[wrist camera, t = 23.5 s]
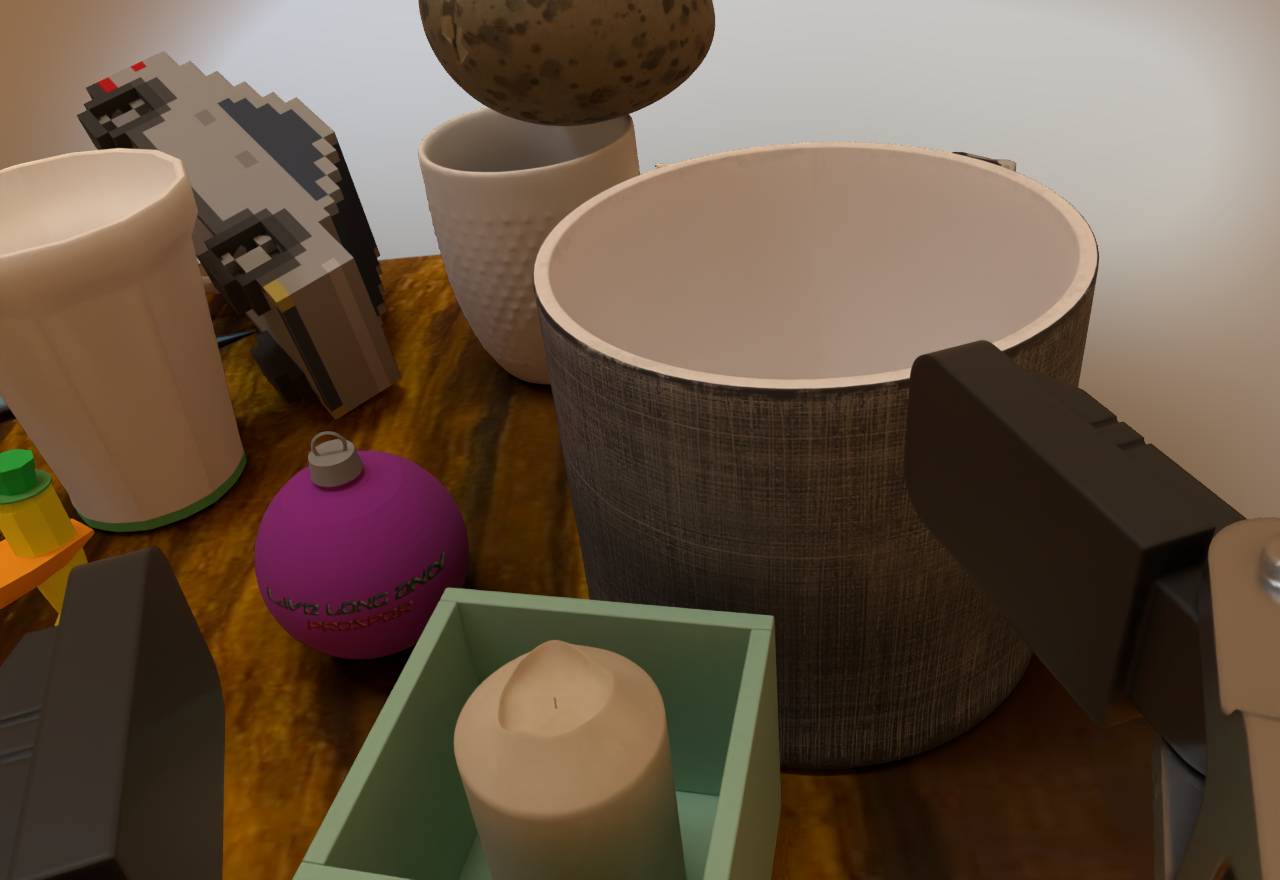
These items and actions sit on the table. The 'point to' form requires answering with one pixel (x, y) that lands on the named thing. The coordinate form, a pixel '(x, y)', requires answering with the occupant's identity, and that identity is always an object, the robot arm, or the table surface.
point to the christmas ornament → (359, 551)
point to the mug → (513, 214)
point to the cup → (114, 337)
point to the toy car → (265, 222)
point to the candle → (571, 769)
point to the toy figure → (35, 533)
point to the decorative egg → (568, 53)
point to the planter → (802, 410)
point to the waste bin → (515, 625)
